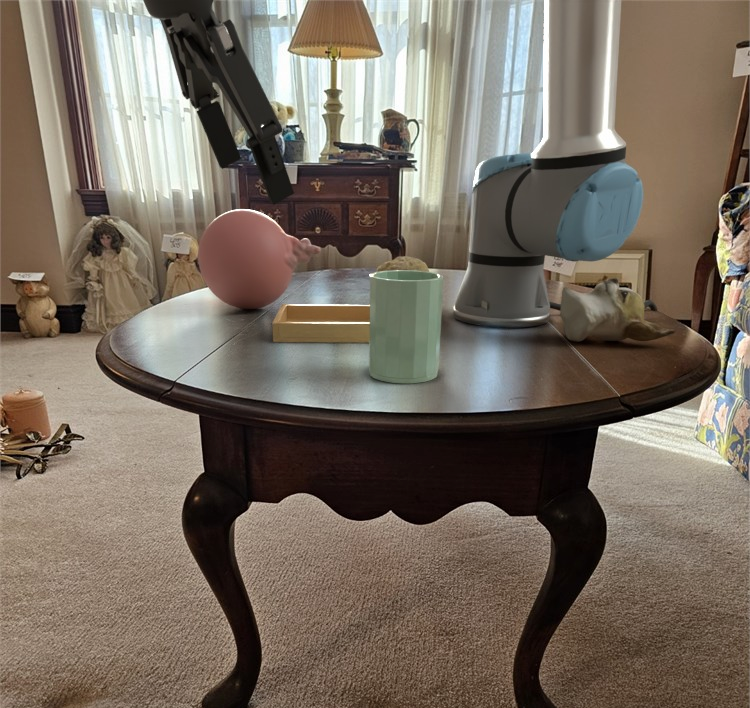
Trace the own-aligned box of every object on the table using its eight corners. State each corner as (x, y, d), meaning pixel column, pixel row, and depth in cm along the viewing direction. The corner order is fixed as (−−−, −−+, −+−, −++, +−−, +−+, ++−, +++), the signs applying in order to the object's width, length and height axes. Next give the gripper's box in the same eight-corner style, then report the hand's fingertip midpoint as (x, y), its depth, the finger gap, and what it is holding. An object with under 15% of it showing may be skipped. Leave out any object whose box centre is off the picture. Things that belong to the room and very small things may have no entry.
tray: (395, 322, 102) (396, 305, 101) (401, 342, 90) (401, 323, 89) (282, 321, 102) (281, 304, 100) (273, 342, 89) (272, 323, 88)
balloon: (314, 319, 103) (311, 213, 96) (190, 316, 104) (178, 211, 97) (328, 302, 117) (327, 208, 110) (219, 299, 118) (210, 206, 111)
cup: (433, 364, 80) (438, 270, 75) (441, 383, 73) (447, 281, 68) (368, 364, 80) (369, 269, 75) (370, 383, 73) (370, 280, 68)
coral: (437, 306, 114) (439, 260, 110) (386, 308, 111) (387, 261, 108) (419, 297, 122) (421, 254, 118) (371, 299, 119) (372, 255, 116)
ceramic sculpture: (551, 269, 92) (650, 275, 94) (540, 331, 96) (635, 335, 98) (581, 281, 83) (690, 288, 85) (567, 349, 87) (671, 354, 89)
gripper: (90, -44, 66) (186, 164, 82) (184, -13, 51) (277, 232, 67) (155, -74, 67) (236, 136, 84) (264, -52, 52) (337, 198, 69)
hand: (255, 179), depth 75 cm, fingers open, 13 cm apart
